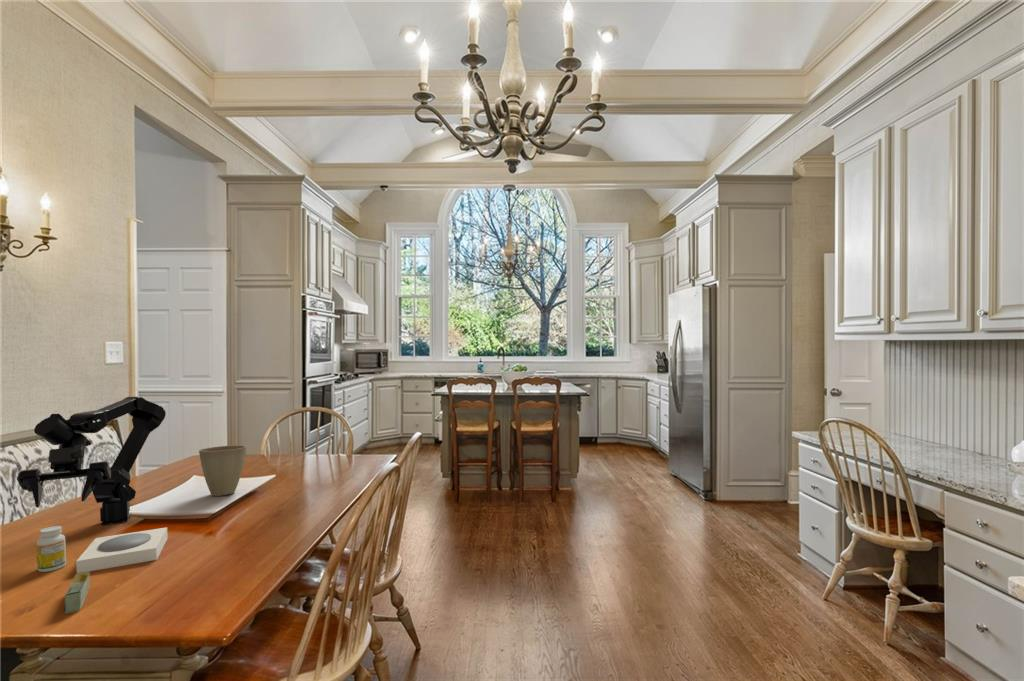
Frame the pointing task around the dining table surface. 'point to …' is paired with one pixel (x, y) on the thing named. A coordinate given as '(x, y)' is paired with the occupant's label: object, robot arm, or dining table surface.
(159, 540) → the plinth
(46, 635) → the dining table surface
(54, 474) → the robot arm
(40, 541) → the supplement bottle
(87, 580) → the medication box
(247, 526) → the dining table surface
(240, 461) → the plant pot
